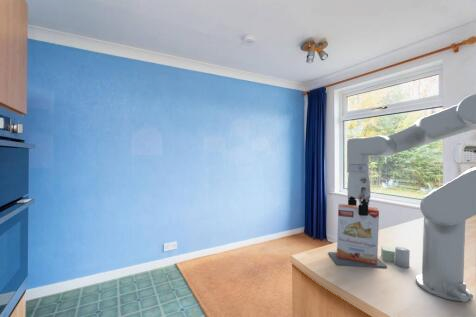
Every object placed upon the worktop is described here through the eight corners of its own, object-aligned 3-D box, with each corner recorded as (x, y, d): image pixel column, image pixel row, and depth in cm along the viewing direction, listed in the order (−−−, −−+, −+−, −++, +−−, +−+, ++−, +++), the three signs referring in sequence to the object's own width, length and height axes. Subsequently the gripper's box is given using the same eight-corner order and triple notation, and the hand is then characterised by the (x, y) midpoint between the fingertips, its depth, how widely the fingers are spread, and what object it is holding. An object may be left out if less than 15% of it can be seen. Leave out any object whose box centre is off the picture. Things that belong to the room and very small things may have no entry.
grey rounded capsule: (411, 268, 82) (412, 252, 82) (398, 267, 82) (399, 251, 82) (404, 262, 86) (405, 247, 86) (392, 261, 87) (393, 246, 87)
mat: (386, 267, 82) (386, 266, 82) (336, 265, 83) (336, 263, 83) (373, 255, 92) (373, 254, 92) (328, 253, 93) (328, 251, 93)
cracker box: (336, 258, 88) (337, 206, 87) (337, 252, 93) (338, 203, 93) (378, 266, 82) (379, 210, 81) (375, 259, 87) (377, 206, 87)
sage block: (394, 262, 86) (394, 251, 86) (382, 259, 88) (382, 249, 88) (392, 257, 90) (392, 248, 90) (381, 255, 92) (381, 246, 92)
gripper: (379, 170, 78) (379, 218, 78) (357, 167, 95) (357, 207, 95) (357, 170, 78) (357, 218, 79) (339, 167, 96) (339, 206, 96)
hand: (357, 212), depth 87 cm, fingers open, 9 cm apart
